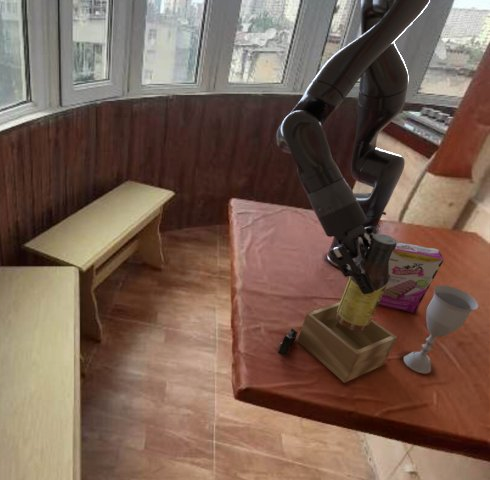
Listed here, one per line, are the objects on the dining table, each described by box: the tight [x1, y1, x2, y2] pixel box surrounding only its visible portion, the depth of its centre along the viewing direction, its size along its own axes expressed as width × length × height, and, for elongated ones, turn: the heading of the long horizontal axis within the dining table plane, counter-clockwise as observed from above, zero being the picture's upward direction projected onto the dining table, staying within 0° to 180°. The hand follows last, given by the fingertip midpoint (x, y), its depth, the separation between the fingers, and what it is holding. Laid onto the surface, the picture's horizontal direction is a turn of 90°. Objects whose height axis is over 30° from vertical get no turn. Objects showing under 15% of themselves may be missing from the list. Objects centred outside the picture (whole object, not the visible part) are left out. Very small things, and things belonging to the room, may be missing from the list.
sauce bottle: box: [336, 233, 398, 331], centre depth 80 cm, size 6×6×20 cm
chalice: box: [403, 284, 479, 375], centre depth 83 cm, size 7×7×18 cm
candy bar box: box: [378, 241, 445, 314], centre depth 101 cm, size 11×5×16 cm, turn 71°
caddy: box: [297, 301, 398, 384], centre depth 87 cm, size 12×13×8 cm
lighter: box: [277, 328, 299, 357], centre depth 89 cm, size 8×2×5 cm
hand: (377, 285), depth 79 cm, fingers closed on sauce bottle, 6 cm apart
